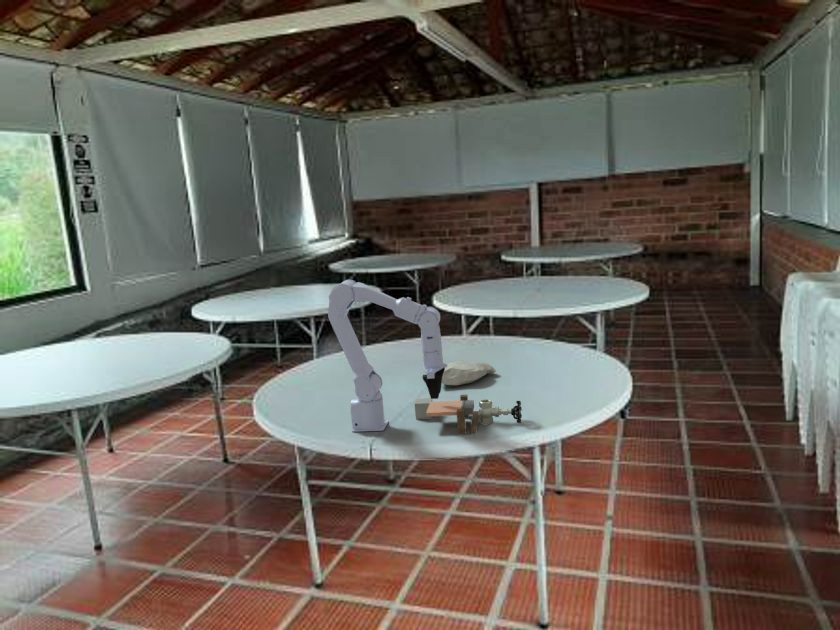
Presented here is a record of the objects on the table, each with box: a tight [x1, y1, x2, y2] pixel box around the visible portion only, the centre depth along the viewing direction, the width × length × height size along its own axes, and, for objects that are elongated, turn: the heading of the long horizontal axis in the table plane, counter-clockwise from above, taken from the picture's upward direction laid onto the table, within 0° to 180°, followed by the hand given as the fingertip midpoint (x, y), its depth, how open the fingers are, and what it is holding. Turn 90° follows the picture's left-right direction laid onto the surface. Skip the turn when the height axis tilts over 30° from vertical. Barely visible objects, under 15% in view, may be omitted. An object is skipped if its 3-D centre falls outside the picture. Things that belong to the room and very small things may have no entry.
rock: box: [441, 359, 497, 386], centre depth 235 cm, size 19×7×25 cm
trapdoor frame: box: [456, 394, 480, 435], centre depth 190 cm, size 5×15×6 cm, turn 172°
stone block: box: [414, 397, 433, 420], centre depth 200 cm, size 5×5×5 cm
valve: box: [478, 398, 523, 425], centre depth 189 cm, size 7×7×12 cm
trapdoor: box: [426, 399, 475, 417], centre depth 190 cm, size 13×10×2 cm
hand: (435, 395), depth 190 cm, fingers open, 4 cm apart
